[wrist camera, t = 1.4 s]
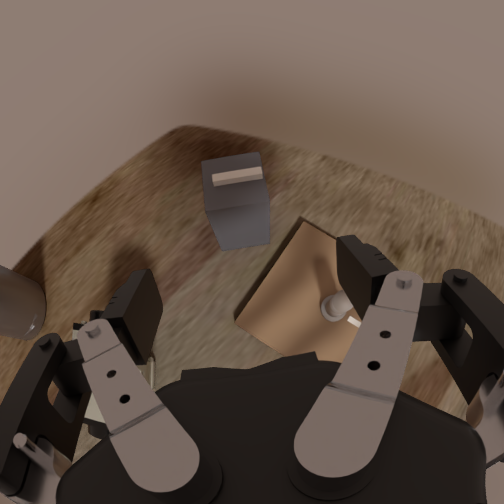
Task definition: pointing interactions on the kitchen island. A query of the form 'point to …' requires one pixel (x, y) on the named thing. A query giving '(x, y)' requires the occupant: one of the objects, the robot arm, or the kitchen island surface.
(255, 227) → the grey rectangular block
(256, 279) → the kitchen island surface
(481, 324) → the robot arm
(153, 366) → the pneumatic valve
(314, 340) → the panel
